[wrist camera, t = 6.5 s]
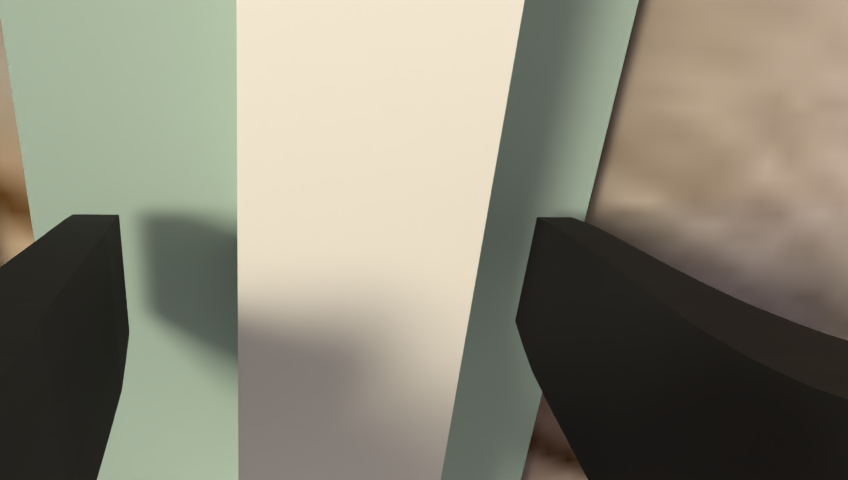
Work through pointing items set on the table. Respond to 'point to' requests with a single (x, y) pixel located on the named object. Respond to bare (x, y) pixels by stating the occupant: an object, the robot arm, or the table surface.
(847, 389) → the robot arm
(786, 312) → the table surface
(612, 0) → the mat
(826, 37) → the table surface
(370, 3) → the rail
